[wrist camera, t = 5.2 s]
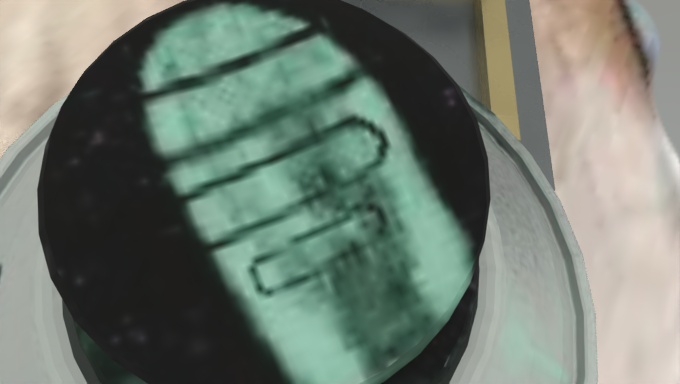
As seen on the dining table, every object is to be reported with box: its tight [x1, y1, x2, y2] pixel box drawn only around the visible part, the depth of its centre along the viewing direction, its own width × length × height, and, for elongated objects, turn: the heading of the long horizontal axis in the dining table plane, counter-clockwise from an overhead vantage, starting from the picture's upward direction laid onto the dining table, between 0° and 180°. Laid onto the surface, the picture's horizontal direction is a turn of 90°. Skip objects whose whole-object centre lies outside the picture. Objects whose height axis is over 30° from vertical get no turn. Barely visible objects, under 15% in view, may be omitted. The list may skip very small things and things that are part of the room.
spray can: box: [0, 0, 598, 384], centre depth 11 cm, size 6×6×20 cm
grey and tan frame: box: [342, 0, 555, 191], centre depth 23 cm, size 14×14×9 cm
